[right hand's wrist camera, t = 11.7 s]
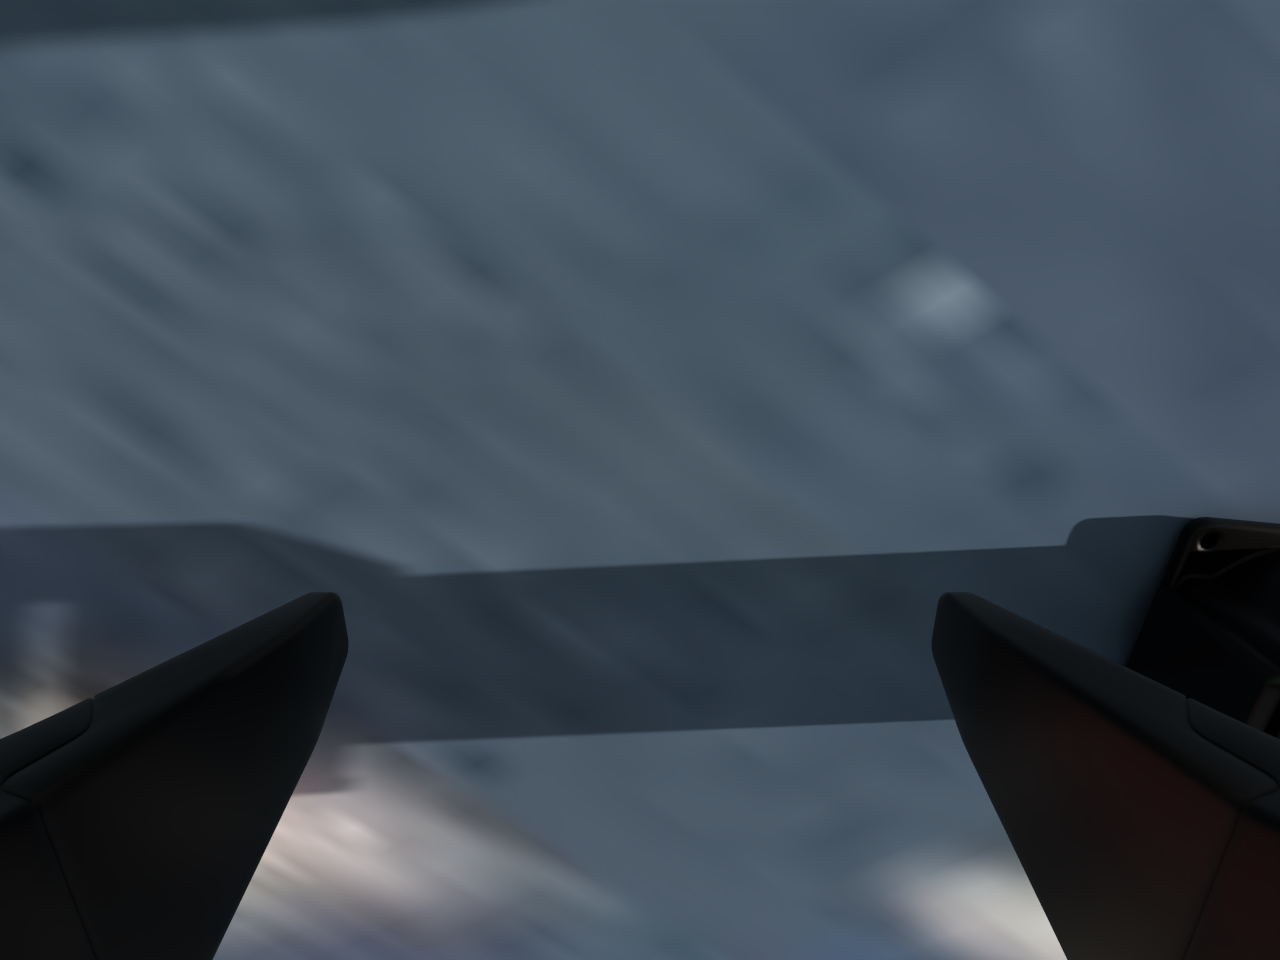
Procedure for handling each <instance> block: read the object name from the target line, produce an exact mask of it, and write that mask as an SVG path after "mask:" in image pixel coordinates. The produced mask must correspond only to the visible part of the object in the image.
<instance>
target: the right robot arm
mask: <svg viewBox="0 0 1280 960" xmlns="http://www.w3.org/2000/svg"><path fill="white" fill-rule="evenodd" d="M1207 533H1209V536H1208V537H1207V539H1206V540H1204V541H1202V542H1200V540H1201V539H1202V537H1203V536H1204V535H1206V534H1207ZM347 653H348V636H347V630H346V624H345V618H344V612H343V606H342V602H341V599H340V597H339V596H338V595H337V594H336V593H332V592H313V593H308V594H306V595H304V596H302V597H299V598H297V599H295V600H293V601H291V602H289V603H287V604H285V605H283V606H281V607H279V608H277V609H274V610H272V611H270V612H268V613H266V614H264V615H262V616H260V617H258V618H256V619H254V620H251V621H249V622H247V623H245V624H243V625H241V626H239V627H237V628H235V629H233V630H231V631H229V632H226V633H224V634H222V635H220V636H218V637H216V638H214V639H212V640H210V641H208V642H206V643H204V644H201V645H199V646H197V647H195V648H193V649H191V650H189V651H187V652H185V653H183V654H181V655H179V656H176V657H174V658H172V659H170V660H168V661H166V662H164V663H162V664H160V665H158V666H156V667H153V668H151V669H149V670H147V671H145V672H143V673H141V674H139V675H137V676H135V677H133V678H131V679H128V680H126V681H124V682H122V683H120V684H118V685H116V686H114V687H112V688H110V689H108V690H106V691H103V692H101V693H99V694H97V695H96V696H95V697H94V700H93V699H91V698H89V699H86V700H84V701H82V702H80V703H78V704H76V705H74V706H72V707H70V708H68V709H66V710H64V711H61V712H59V713H57V714H55V715H53V716H51V717H49V718H46V719H44V720H42V721H40V722H38V723H36V724H33V725H31V726H29V727H27V728H25V729H23V730H20V731H18V732H16V733H14V734H11V735H9V736H7V737H4V738H2V739H0V960H213V957H214V955H215V953H216V951H217V949H218V947H219V945H220V943H221V941H222V939H223V937H224V935H225V933H226V930H227V928H228V926H229V924H230V922H231V920H232V918H233V916H234V914H235V912H236V910H237V908H238V906H239V903H240V901H241V899H242V897H243V895H244V893H245V891H246V889H247V887H248V885H249V883H250V881H251V879H252V876H253V874H254V872H255V870H256V868H257V866H258V864H259V862H260V860H261V858H262V856H263V854H264V852H265V849H266V847H267V845H268V843H269V841H270V839H271V837H272V835H273V833H274V831H275V829H276V827H277V825H278V822H279V820H280V818H281V816H282V814H283V812H284V810H285V808H286V806H287V804H288V802H289V800H290V798H291V795H292V793H293V791H294V789H295V787H296V785H297V783H298V781H299V779H300V777H301V775H302V773H303V771H304V768H305V766H306V764H307V762H308V760H309V758H310V756H311V754H312V752H313V749H314V747H315V745H316V743H317V740H318V738H319V735H320V732H321V730H322V727H323V724H324V721H325V718H326V715H327V712H328V709H329V707H330V704H331V701H332V698H333V695H334V692H335V689H336V686H337V683H338V680H339V677H340V674H341V672H342V669H343V666H344V663H345V660H346V657H347ZM932 653H933V657H934V660H935V663H936V666H937V669H938V672H939V674H940V677H941V680H942V683H943V686H944V689H945V692H946V695H947V698H948V701H949V704H950V707H951V710H952V712H953V715H954V718H955V721H956V724H957V727H958V730H959V732H960V735H961V738H962V740H963V743H964V745H965V747H966V749H967V752H968V754H969V756H970V758H971V760H972V762H973V764H974V766H975V769H976V771H977V773H978V775H979V777H980V779H981V781H982V783H983V785H984V787H985V789H986V791H987V793H988V796H989V798H990V800H991V802H992V804H993V806H994V808H995V810H996V812H997V814H998V816H999V818H1000V820H1001V823H1002V825H1003V827H1004V829H1005V831H1006V833H1007V835H1008V837H1009V839H1010V841H1011V843H1012V845H1013V847H1014V850H1015V852H1016V854H1017V856H1018V858H1019V860H1020V862H1021V864H1022V866H1023V868H1024V870H1025V872H1026V874H1027V877H1028V879H1029V881H1030V883H1031V885H1032V887H1033V889H1034V891H1035V893H1036V895H1037V897H1038V899H1039V901H1040V904H1041V906H1042V908H1043V910H1044V912H1045V914H1046V916H1047V918H1048V920H1049V922H1050V924H1051V926H1052V928H1053V931H1054V933H1055V935H1056V937H1057V939H1058V941H1059V943H1060V945H1061V947H1062V949H1063V951H1064V953H1065V955H1066V958H1067V960H1280V524H1275V523H1264V522H1254V521H1243V520H1232V519H1222V518H1211V517H1202V518H1197V519H1195V520H1193V521H1191V522H1190V523H1188V524H1187V525H1186V526H1185V527H1184V529H1183V531H1182V532H1181V534H1180V537H1179V539H1178V542H1177V544H1176V547H1175V549H1174V552H1173V554H1172V556H1171V559H1170V561H1169V564H1168V566H1167V569H1166V571H1165V574H1164V576H1163V578H1162V581H1161V583H1160V586H1159V588H1158V591H1157V593H1156V596H1155V598H1154V601H1153V603H1152V605H1151V608H1150V610H1149V613H1148V615H1147V618H1146V620H1145V623H1144V625H1143V627H1142V630H1141V632H1140V635H1139V637H1138V640H1137V642H1136V645H1135V647H1134V650H1133V652H1132V654H1131V657H1130V659H1129V662H1128V664H1127V667H1124V666H1122V665H1120V664H1118V663H1116V662H1114V661H1112V660H1110V659H1108V658H1106V657H1104V656H1101V655H1099V654H1097V653H1095V652H1093V651H1091V650H1089V649H1087V648H1085V647H1083V646H1081V645H1079V644H1076V643H1074V642H1072V641H1070V640H1068V639H1066V638H1064V637H1062V636H1060V635H1058V634H1056V633H1054V632H1051V631H1049V630H1047V629H1045V628H1043V627H1041V626H1039V625H1037V624H1035V623H1033V622H1031V621H1028V620H1026V619H1024V618H1022V617H1020V616H1018V615H1016V614H1014V613H1012V612H1010V611H1008V610H1006V609H1003V608H1001V607H999V606H997V605H995V604H993V603H991V602H989V601H987V600H985V599H983V598H981V597H978V596H976V595H974V594H972V593H967V592H948V593H944V594H943V595H942V596H941V597H940V599H939V601H938V606H937V612H936V618H935V624H934V630H933V636H932Z"/></svg>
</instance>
